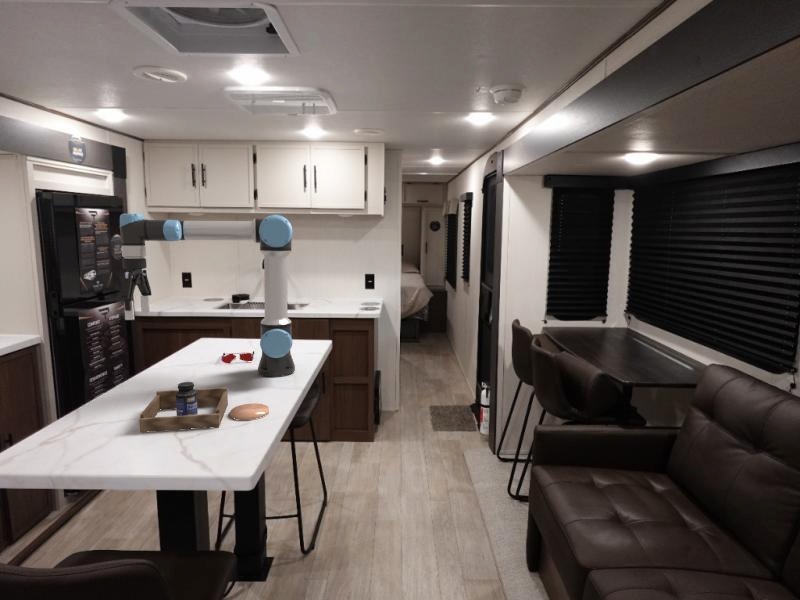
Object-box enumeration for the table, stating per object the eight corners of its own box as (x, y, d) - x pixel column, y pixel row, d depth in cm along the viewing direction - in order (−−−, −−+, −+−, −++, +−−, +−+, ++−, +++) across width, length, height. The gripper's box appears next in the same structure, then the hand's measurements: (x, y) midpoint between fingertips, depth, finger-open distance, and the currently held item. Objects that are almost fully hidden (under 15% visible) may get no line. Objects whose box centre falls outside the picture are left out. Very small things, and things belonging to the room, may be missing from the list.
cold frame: (227, 404, 166) (227, 387, 165) (219, 427, 147) (218, 408, 146) (158, 408, 162) (157, 391, 161) (139, 432, 142) (138, 412, 141)
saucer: (269, 405, 165) (269, 402, 165) (268, 419, 154) (267, 415, 154) (232, 408, 163) (232, 404, 163) (228, 421, 151) (227, 418, 151)
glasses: (221, 365, 216) (220, 354, 215) (224, 356, 232) (223, 345, 231) (253, 363, 220) (253, 352, 219) (254, 354, 235) (254, 344, 235)
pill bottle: (189, 422, 151) (188, 387, 149) (172, 420, 152) (170, 386, 150) (201, 414, 157) (200, 381, 155) (184, 413, 158) (183, 380, 156)
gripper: (137, 255, 185) (141, 310, 188) (105, 259, 161) (110, 322, 164) (158, 255, 186) (161, 310, 189) (129, 259, 162) (134, 322, 165)
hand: (138, 316), depth 176 cm, fingers open, 13 cm apart
